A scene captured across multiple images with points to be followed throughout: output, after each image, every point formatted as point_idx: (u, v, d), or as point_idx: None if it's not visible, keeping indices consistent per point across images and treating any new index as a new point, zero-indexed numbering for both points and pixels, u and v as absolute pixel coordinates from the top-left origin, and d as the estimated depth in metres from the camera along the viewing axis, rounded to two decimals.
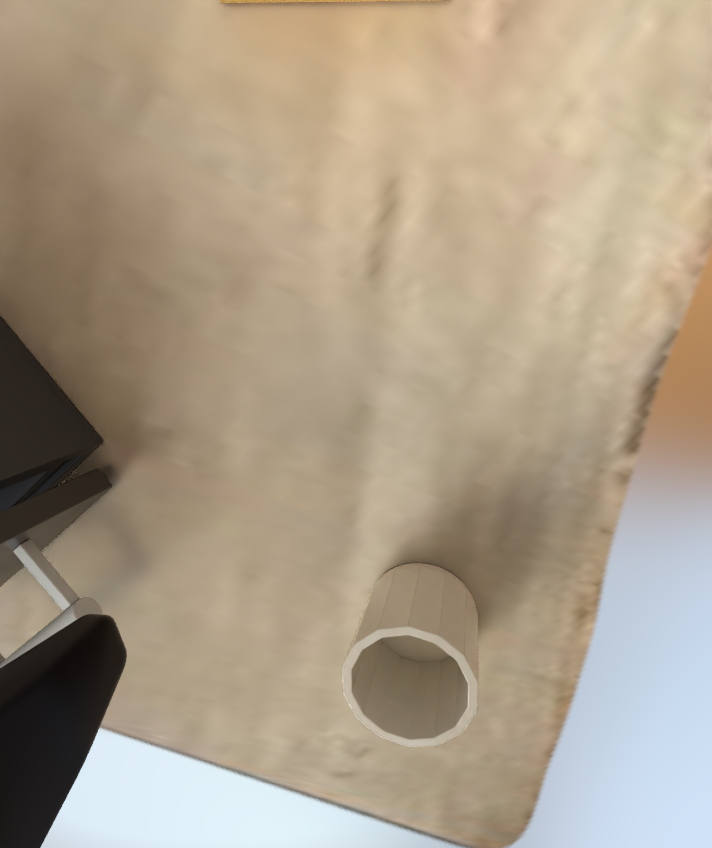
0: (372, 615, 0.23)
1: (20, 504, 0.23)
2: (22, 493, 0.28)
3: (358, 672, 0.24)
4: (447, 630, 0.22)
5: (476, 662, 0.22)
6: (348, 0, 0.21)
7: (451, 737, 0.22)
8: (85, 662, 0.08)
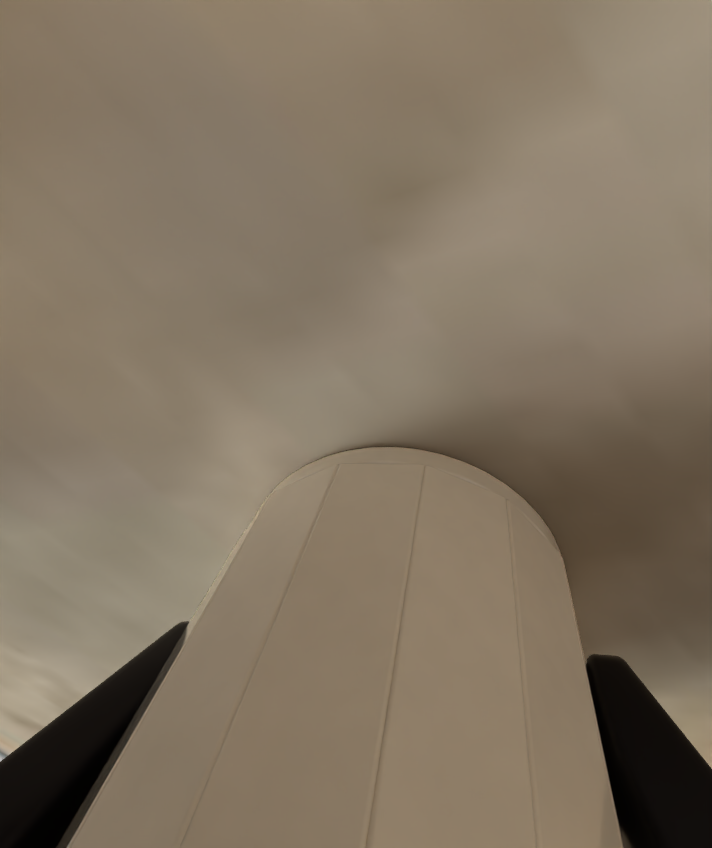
0: (319, 664, 0.05)
1: None
2: None
3: None
4: None
5: None
6: None
7: None
8: None
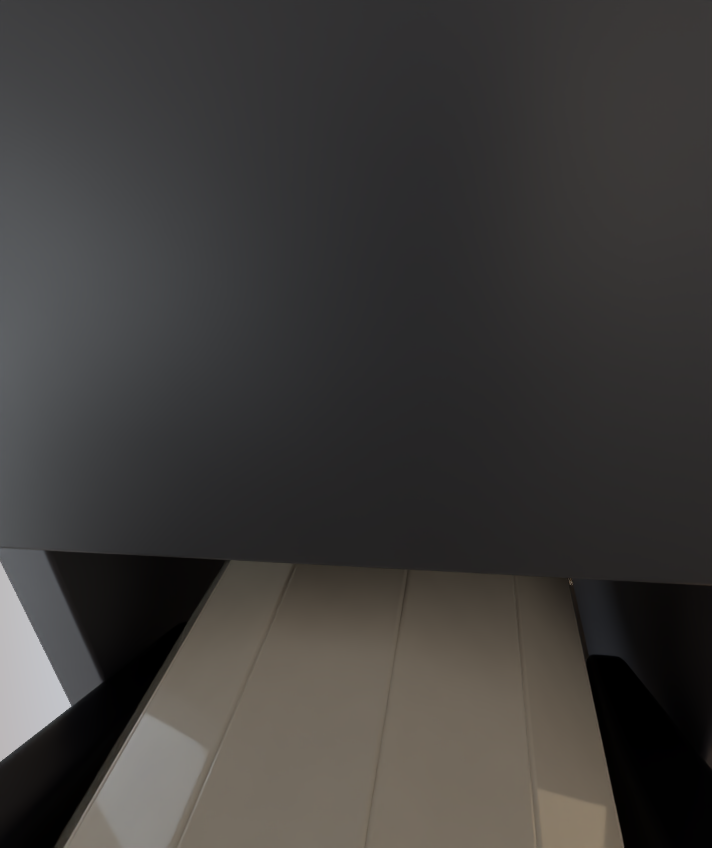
0: (318, 662, 0.05)
1: None
2: None
3: None
4: None
5: None
6: None
7: None
8: None
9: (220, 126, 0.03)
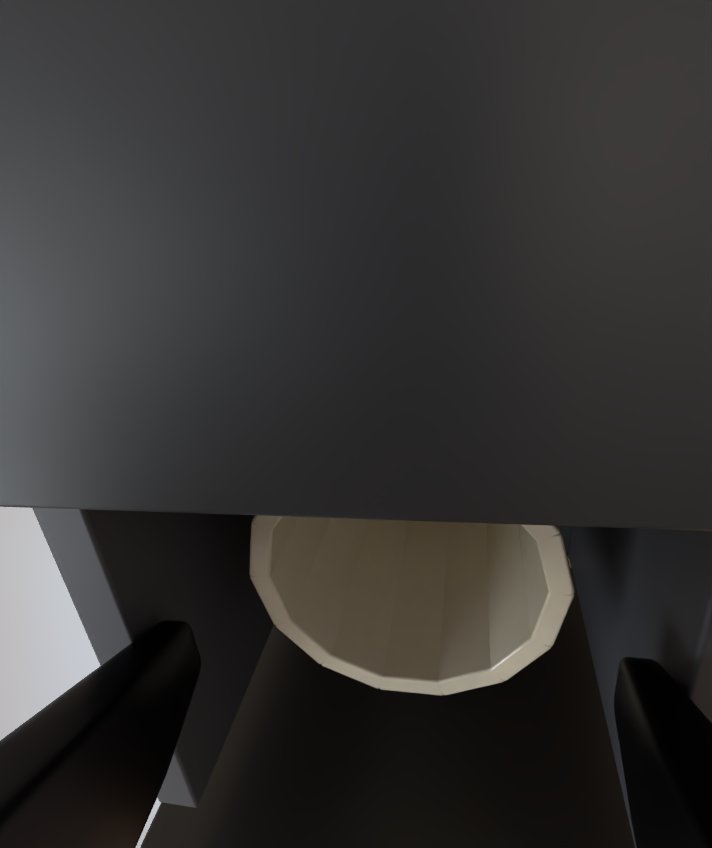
0: None
1: None
2: None
3: None
4: None
5: None
6: None
7: (415, 691, 0.10)
8: (167, 671, 0.08)
9: (271, 135, 0.04)
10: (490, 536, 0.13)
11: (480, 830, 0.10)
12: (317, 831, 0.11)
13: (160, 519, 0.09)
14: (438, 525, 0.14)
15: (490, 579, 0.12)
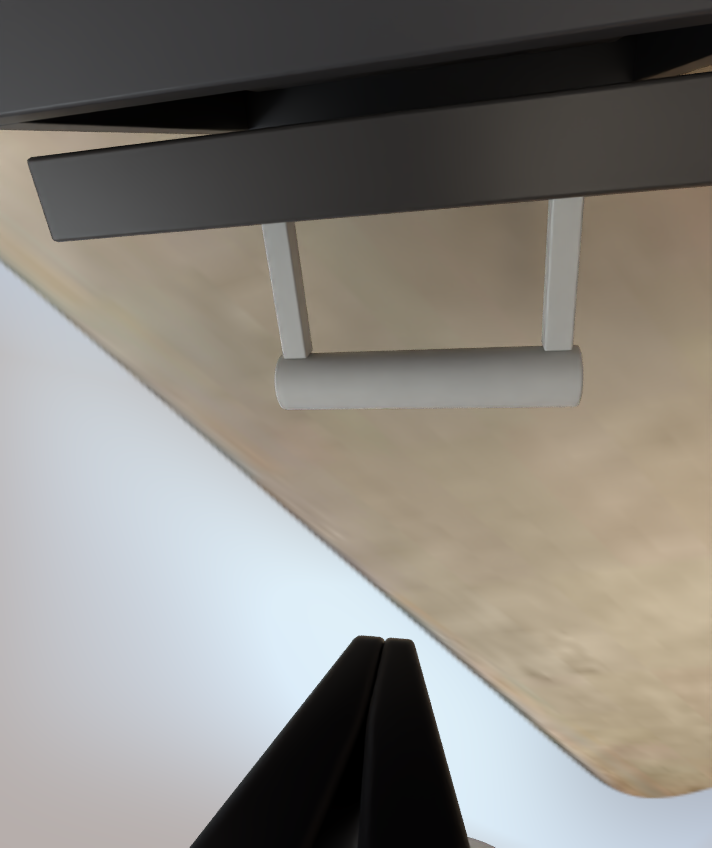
0: None
1: None
2: None
3: None
4: None
5: None
6: None
7: None
8: None
9: None
10: None
11: None
12: None
13: None
14: None
15: None
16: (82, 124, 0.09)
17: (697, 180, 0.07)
